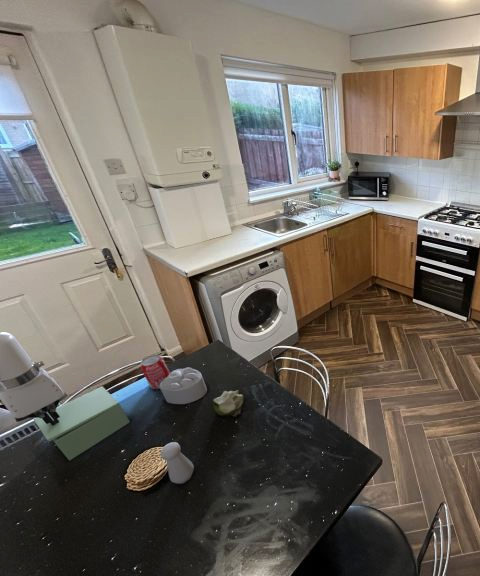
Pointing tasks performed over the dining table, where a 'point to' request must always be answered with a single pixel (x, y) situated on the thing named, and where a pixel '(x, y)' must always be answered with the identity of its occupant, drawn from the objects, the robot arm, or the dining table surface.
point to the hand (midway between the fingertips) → (54, 421)
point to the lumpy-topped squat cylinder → (183, 386)
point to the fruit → (228, 403)
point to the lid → (77, 412)
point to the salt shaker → (177, 463)
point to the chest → (91, 432)
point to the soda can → (154, 370)
